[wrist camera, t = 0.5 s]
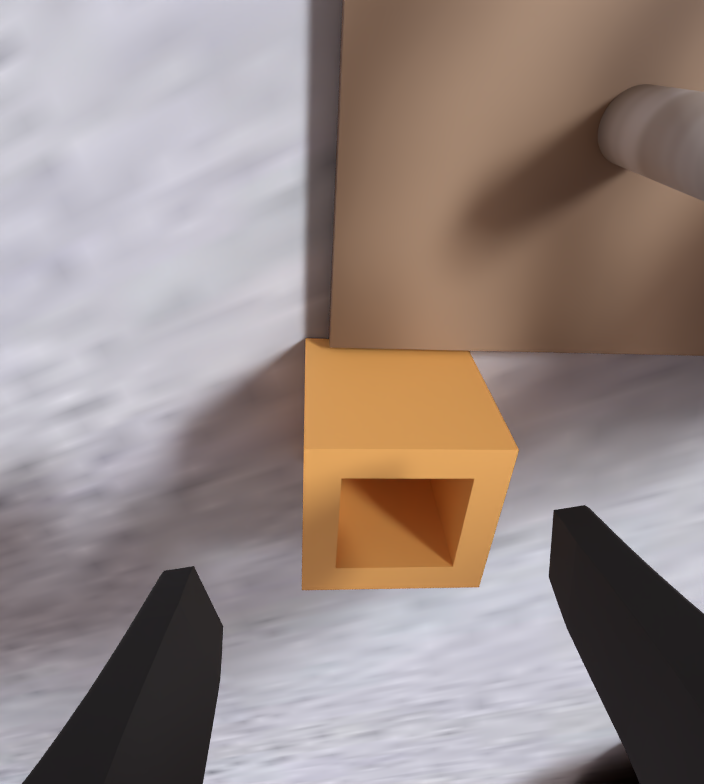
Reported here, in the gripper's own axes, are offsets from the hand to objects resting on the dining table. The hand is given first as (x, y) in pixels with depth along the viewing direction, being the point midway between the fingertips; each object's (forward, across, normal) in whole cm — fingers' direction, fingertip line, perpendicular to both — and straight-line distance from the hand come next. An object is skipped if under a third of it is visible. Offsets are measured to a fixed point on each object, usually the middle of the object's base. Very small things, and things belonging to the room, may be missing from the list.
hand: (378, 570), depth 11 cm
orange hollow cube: (+10, -1, +3) cm, 10 cm away
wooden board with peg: (+10, -9, -6) cm, 14 cm away
